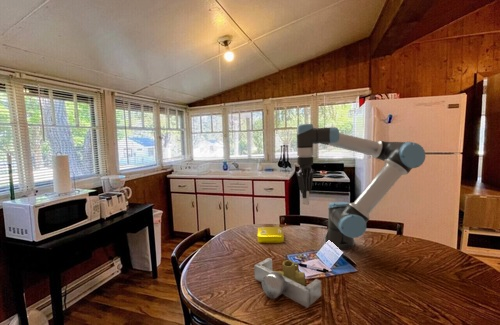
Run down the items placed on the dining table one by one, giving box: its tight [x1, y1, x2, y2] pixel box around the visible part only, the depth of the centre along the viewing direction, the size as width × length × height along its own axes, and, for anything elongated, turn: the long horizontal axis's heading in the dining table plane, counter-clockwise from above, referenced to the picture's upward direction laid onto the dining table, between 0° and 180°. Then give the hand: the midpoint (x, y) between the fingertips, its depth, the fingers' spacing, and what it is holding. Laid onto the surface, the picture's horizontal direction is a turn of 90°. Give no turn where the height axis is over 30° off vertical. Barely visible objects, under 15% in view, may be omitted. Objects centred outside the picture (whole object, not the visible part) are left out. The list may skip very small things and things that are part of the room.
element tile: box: [257, 226, 285, 244], centre depth 148 cm, size 15×15×5 cm
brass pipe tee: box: [273, 259, 306, 286], centre depth 102 cm, size 13×10×10 cm
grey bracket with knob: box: [253, 257, 322, 309], centre depth 96 cm, size 14×26×8 cm, turn 43°
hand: (305, 204), depth 122 cm, fingers closed
